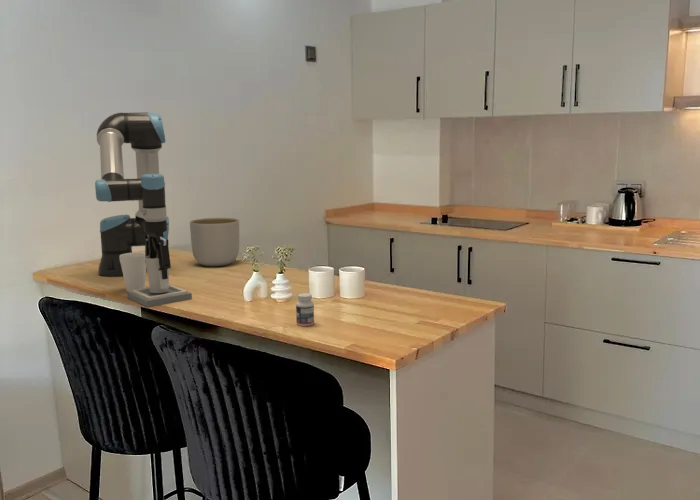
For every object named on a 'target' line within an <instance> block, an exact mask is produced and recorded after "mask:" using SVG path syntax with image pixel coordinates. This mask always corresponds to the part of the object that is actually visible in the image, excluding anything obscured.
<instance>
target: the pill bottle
mask: <svg viewBox="0 0 700 500" xmlns="http://www.w3.org/2000/svg"><path fill="white" fill-rule="evenodd" d="M312 297H313V296H312V293H307V292H304V293H299V294H298V295H297V300H298V301H297V302H296V303H295V311H296V312H295V313H296V314H295V315H296V324H297V326H300V327H309V326H313V325H314V324H315V310H314V309H315V306H314V302H313V300H312V299H313V298H312Z"/></svg>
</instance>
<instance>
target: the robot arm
mask: <svg viewBox="0 0 700 500" xmlns="http://www.w3.org/2000/svg"><path fill="white" fill-rule="evenodd" d="M165 135H166V133H165V130H164V124H163V120H162V116H161V115H160V114H159V113H158V112H157V113H156V112H149V111H148V112H146V111H145V112H116V113H113V114H110V115H109V116H108V117H106V118H105V119H104V120H103V121H102V122H101V123H100V124H99V126H98V128H97V131H96V142H97V145H98V146H99V152H100V153H99V155H100V158H99V159H100V160H99V161H100V179H97V180H95V182H94V186H95V187H94V189H95V199H96V200H97V201H98V202H108V203H111V202H127V201H129V202H131V201H132V202H133V201H134V202H135V201H138V210H137V211H136V212H135V217H131V216H130V215H129V214H118V215H114V216H113V215H112V216H109V217H108V216H107V217H105V218H102V219H101V220H100V222H99V233H100V243H101V245H100V247H101V258H100V261H99V266H98V275H100V276H101V277H102V276H103V277H123V272H122V267H121V263H120V257H119V256H120V255H122V254H126V253H133V247H144V250H145V251H144V253H145V257H146V256H150V258H151V259H154V258H156V257H158V258H159V266H160V268H159V269H158V270H159V280H160V289H165V288H168V271H167V269H168V268H169V269H171V267H172V265H171V257H170V250H169V249H170V248H169V239H168V238H169V231H170V228H169V227H170V217H168V216H167V206H166V183H165V177H164V174H162V173H160V163H159V151H160V150H162V147H163V144H164V143H166V136H165ZM123 144H130V149H132V150H133V151H134V152H135V165H136V166H135V167H136V178H125V173H124V161H123V160H124V159H123V149H122V148H123V147H122V146H123ZM145 263H146V260H145Z"/></svg>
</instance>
